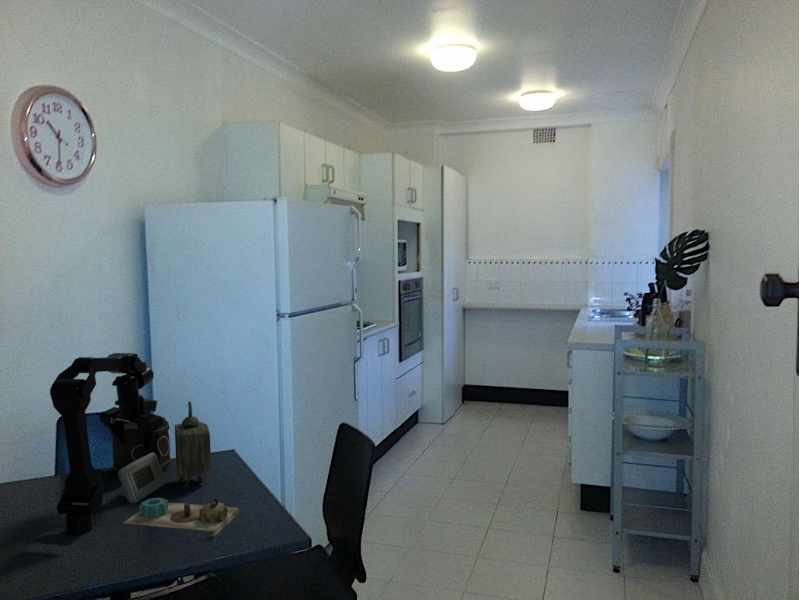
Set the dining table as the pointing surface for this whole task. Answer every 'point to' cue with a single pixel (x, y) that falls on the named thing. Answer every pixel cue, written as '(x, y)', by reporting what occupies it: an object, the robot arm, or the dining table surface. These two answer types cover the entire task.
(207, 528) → the gear board
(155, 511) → the teal gear
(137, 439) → the brown round pot
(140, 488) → the digital clock
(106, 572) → the dining table surface
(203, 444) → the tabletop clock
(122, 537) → the dining table surface
